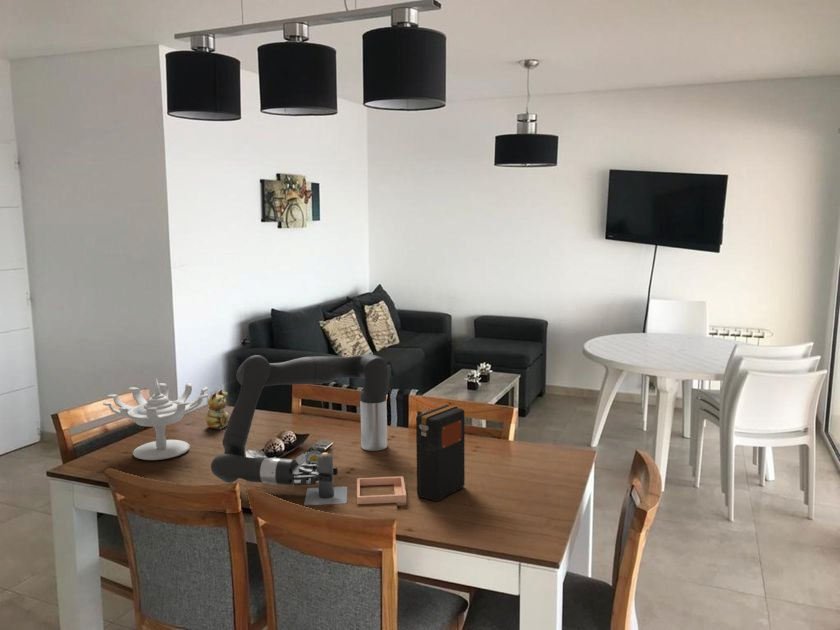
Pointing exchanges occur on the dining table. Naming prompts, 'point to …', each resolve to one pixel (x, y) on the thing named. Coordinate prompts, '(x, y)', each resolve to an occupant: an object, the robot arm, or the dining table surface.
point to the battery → (325, 467)
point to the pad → (338, 498)
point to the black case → (440, 452)
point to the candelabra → (158, 419)
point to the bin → (398, 497)
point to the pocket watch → (313, 455)
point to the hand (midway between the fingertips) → (334, 474)
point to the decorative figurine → (217, 410)
